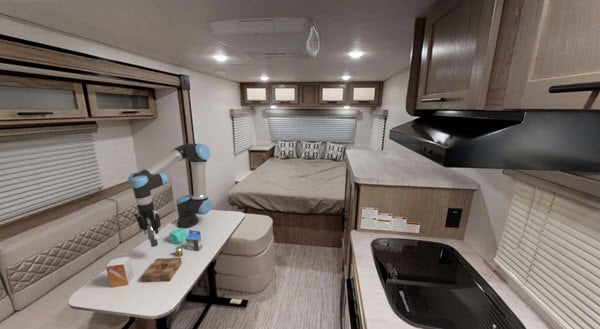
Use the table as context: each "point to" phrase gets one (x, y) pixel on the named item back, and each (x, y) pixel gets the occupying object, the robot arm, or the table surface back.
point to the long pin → (151, 235)
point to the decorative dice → (178, 235)
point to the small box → (120, 271)
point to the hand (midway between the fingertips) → (153, 238)
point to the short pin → (179, 251)
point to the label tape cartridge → (194, 241)
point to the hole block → (162, 270)
